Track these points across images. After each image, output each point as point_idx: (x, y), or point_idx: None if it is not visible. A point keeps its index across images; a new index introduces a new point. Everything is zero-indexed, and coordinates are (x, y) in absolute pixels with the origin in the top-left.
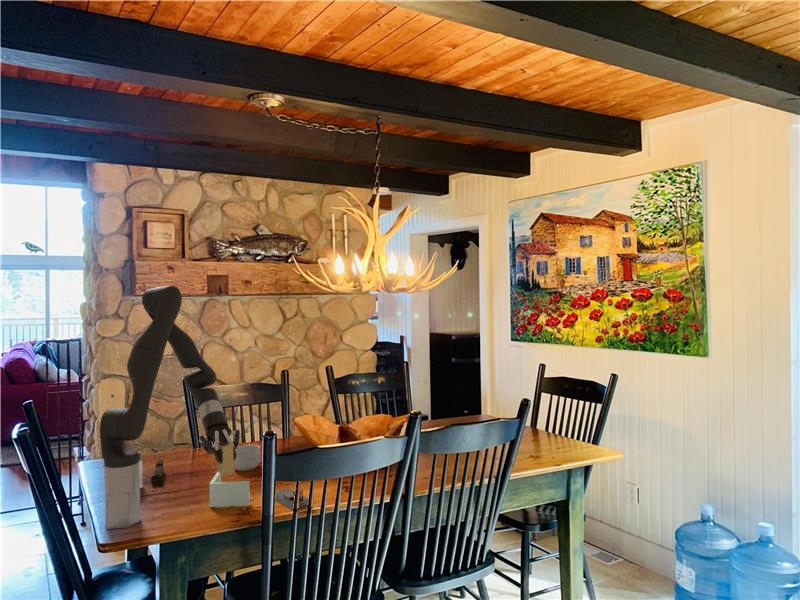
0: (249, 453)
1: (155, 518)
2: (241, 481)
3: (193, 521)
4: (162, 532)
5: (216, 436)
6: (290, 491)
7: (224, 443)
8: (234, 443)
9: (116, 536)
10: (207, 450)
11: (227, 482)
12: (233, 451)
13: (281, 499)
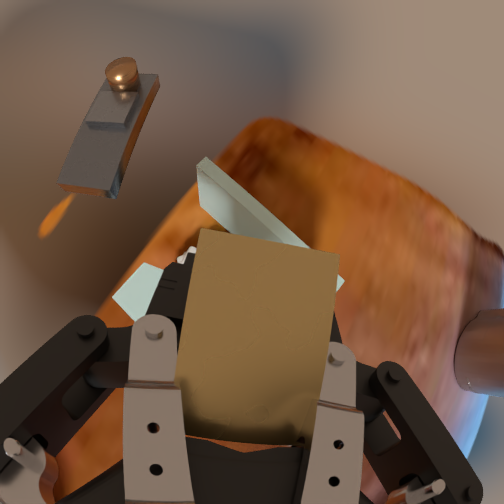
0: (3, 500)
1: (436, 328)
2: (225, 185)
3: (386, 225)
4: (448, 225)
5: (336, 495)
6: (79, 150)
7: (242, 378)
8: (104, 359)
9: (496, 283)
10: (379, 417)
11: (279, 225)
12: (177, 287)
13: (135, 129)
